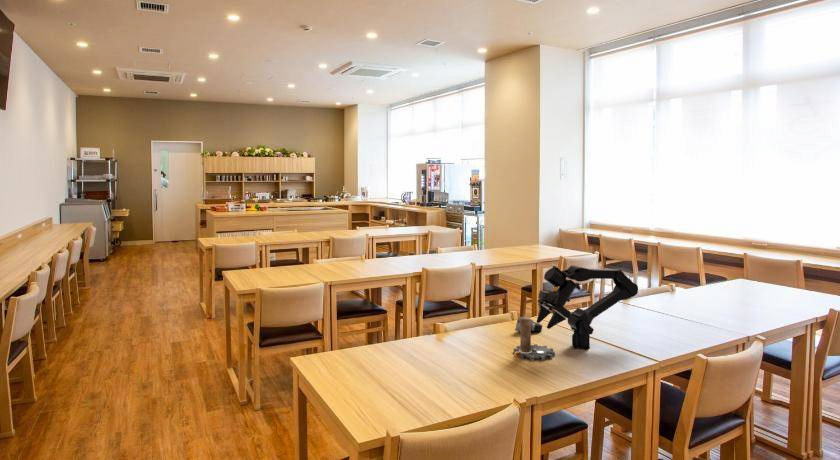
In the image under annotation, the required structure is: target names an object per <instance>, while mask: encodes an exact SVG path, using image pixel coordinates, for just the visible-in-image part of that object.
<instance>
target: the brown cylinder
mask: <svg viewBox="0 0 840 460" xmlns="http://www.w3.org/2000/svg"><path fill="white" fill-rule="evenodd" d="M523 317H524V318H520V332H519V334H520V336H519V337H520V338H519V339H520V340H519V341H520V344H519V346H520V351H521V352H526V353H527V352H531V344H532V343H531V342H532V341H531V339H532V337H531V336H532V334H531V333H532V330H531V320H532V319H531V318H530V317H527V318H526V316H523Z"/></svg>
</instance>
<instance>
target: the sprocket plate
mask: <svg viewBox="0 0 840 460" xmlns="http://www.w3.org/2000/svg"><path fill="white" fill-rule="evenodd" d="M513 354H514V356H515V357H520V360H530V361H531V362H534V361H537V360H538V361H541V362H544V361H545V360H547V359H548V360H552V359H553V357H556V351H554V348H552V347H551V348H550V347H548V346H547V345H538V343H537V344H536V343H533V344H532V345H531V352H527V353H526V352H521V351H520V345H517V346H516V348H513Z"/></svg>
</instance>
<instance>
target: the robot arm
mask: <svg viewBox="0 0 840 460" xmlns="http://www.w3.org/2000/svg"><path fill="white" fill-rule="evenodd" d="M543 279H544V280H545V281H546V282H547V283H549V284H550V285H552V286H553V287H555V288H557V289H556V290H553V291H551V290H547V291H545V290H541V289H540V290H539V292H538V293H539V294H538V297H537V301H536V302H537V305H538V308H539V311H538V315H537V319H536V323H538V324H540V323H541V322H543V321H544V319H546V318H547V317H548V316H550V315H551V313H552V315H551V318H550V320H549V321H548V324H547V326H546V328H547V329H548V330H550V329H551V328H553V327H555V326H556V325H558V324H560V323H561V322H564V321H567V324H568V326H570V328H571V330H572V331H573V333H572V335H571V337H572V338H571V344H572V347H573V348H574V349H583V350H584V349H585V350H591V347H590V346H591V343H590V339H591V338H590V337H591V336H590V335H592V334H593V333H594V328H593V327H592V326H591V324H592V322H593V320H595V318H596V317H598V316H599V315H601V314H602V313H604V312H605V311H607V310H609V309H610V308H611V307H613V306H615V305H616V304H618V303H619V302H620V301H625V300H629V299H631V298H633V297H636V296H637V295H638V293H639V287H638V284H636V283H634V282H633V280H631V279H630V278H629V277H628V276H627V275H626V274H625V273H624V271H622V270H621V269H618V268H588V267H583V266H578V265H570V266H569V267H568V268H567V269H565V270H560V269H559V267H558V266H555V265H553V266H552V267H551V268H549V269H548V270H547V271H546V272H545V273H544V276H543ZM591 279H593V280H595V279H596V280H598V279H599V280H600V279H601V280H612V282H613V284H614V285H615V286H614V287H613V289H612V291H611V292H609V293H608V294H606V295H605V296H603V297H602V298H600V299H599V300H597V301H596V302H594V303H593V304H591V305H590V306H588V307H587V308H585V309H582V308H579V307H577V308H576V309H575V310H573V311H570V310H569V309H567V308H566V307H565V305H566V304H567V302H568V303H569V302H570V301H571V299H570V297H571V296H572V294H573V293H574V291H575V290H577V291H581V286H580V282H586V281H587V282H588V281H590V280H591ZM575 281H576V282H575Z"/></svg>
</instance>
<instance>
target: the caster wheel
mask: <svg viewBox="0 0 840 460" xmlns="http://www.w3.org/2000/svg"><path fill="white" fill-rule="evenodd" d="M524 317H526V316H518V317H517V321H516V324H515V330H514V331H515V332H519V333H520V318H524ZM526 318H528V317H526ZM542 329H543V325H542V324H540V323H537V322H535V321H534V320H533V319H531V332H532V331H535V332H542Z"/></svg>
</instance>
